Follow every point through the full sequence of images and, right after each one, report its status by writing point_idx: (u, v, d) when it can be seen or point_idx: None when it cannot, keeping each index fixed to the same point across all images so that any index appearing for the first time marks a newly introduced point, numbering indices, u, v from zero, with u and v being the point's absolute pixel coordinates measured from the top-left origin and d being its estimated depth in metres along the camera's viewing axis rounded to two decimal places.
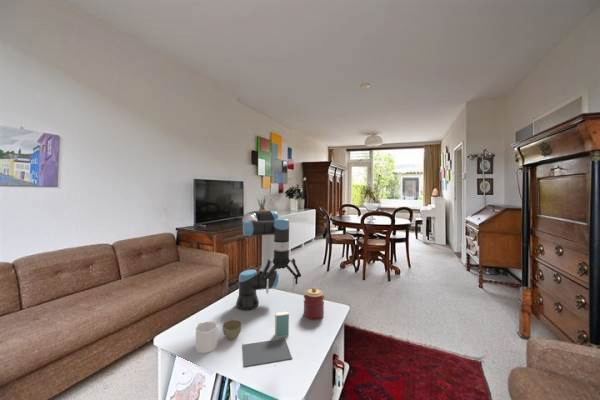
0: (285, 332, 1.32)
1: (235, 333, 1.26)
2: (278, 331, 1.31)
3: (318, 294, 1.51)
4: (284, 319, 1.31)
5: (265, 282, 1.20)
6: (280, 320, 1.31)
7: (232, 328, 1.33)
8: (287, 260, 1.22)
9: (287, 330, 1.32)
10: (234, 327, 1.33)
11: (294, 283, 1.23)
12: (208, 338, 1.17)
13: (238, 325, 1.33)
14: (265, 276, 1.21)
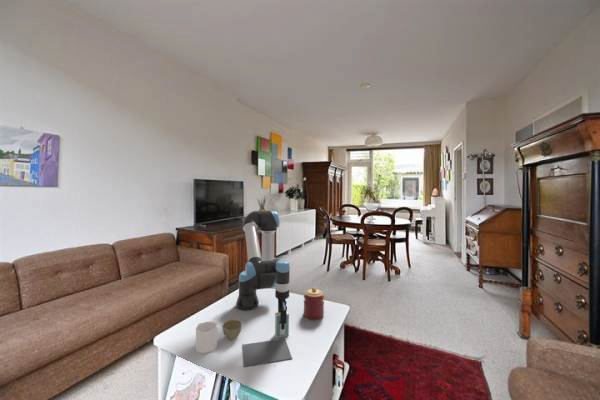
0: (285, 332, 1.32)
1: (235, 333, 1.26)
2: (278, 331, 1.31)
3: (318, 294, 1.51)
4: None
5: None
6: (280, 320, 1.31)
7: (232, 328, 1.33)
8: (281, 302, 1.29)
9: (287, 330, 1.32)
10: (234, 327, 1.33)
11: (280, 326, 1.30)
12: (208, 338, 1.17)
13: (238, 325, 1.33)
14: None
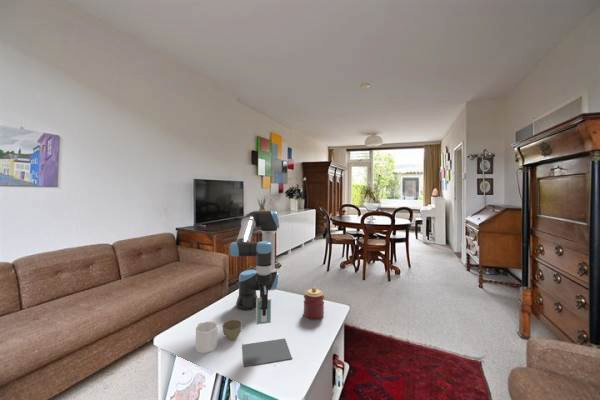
0: (267, 319, 1.22)
1: (235, 333, 1.26)
2: (259, 317, 1.21)
3: (318, 294, 1.51)
4: None
5: None
6: (261, 306, 1.21)
7: (232, 328, 1.33)
8: (262, 286, 1.19)
9: (269, 317, 1.22)
10: (234, 327, 1.33)
11: (261, 313, 1.20)
12: (208, 338, 1.17)
13: (238, 325, 1.33)
14: None
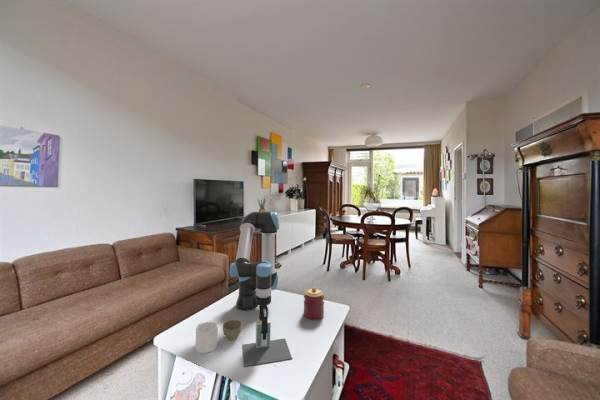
0: None
1: (235, 333, 1.26)
2: (258, 340, 1.21)
3: (318, 294, 1.51)
4: None
5: None
6: (261, 329, 1.21)
7: (232, 328, 1.33)
8: (261, 308, 1.19)
9: (269, 340, 1.22)
10: (234, 327, 1.33)
11: (261, 336, 1.19)
12: (208, 338, 1.17)
13: (238, 325, 1.33)
14: None
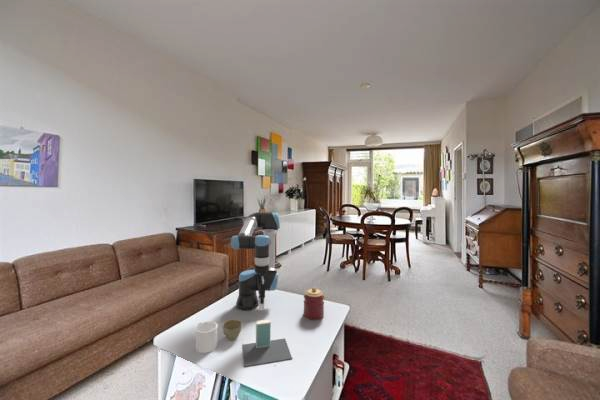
0: (266, 342, 1.22)
1: (235, 333, 1.26)
2: (258, 340, 1.21)
3: (318, 294, 1.51)
4: (265, 328, 1.22)
5: (259, 295, 1.33)
6: (261, 329, 1.21)
7: (232, 328, 1.33)
8: (260, 276, 1.27)
9: (269, 340, 1.22)
10: (234, 327, 1.33)
11: (259, 301, 1.29)
12: (208, 338, 1.17)
13: (238, 325, 1.33)
14: None
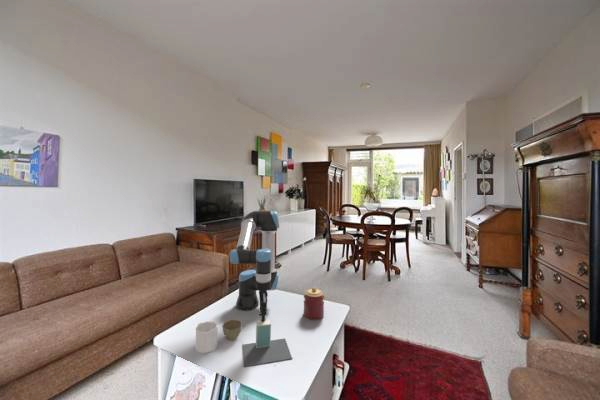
0: (266, 342, 1.22)
1: (235, 333, 1.26)
2: (258, 341, 1.21)
3: (318, 294, 1.51)
4: (266, 329, 1.21)
5: None
6: (261, 330, 1.20)
7: (232, 328, 1.33)
8: (261, 293, 1.20)
9: (269, 340, 1.22)
10: (234, 327, 1.33)
11: (260, 319, 1.23)
12: (208, 338, 1.17)
13: (238, 325, 1.33)
14: None
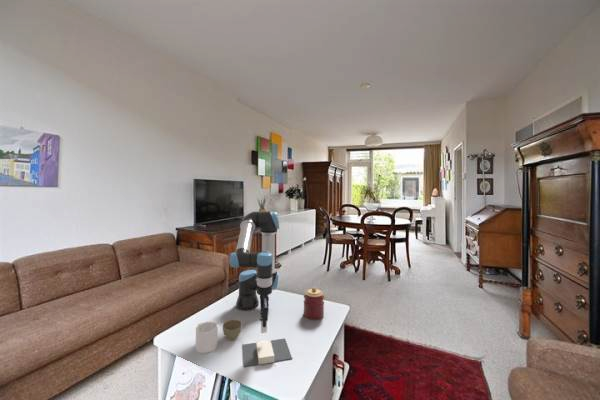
0: None
1: (235, 333, 1.26)
2: None
3: (318, 294, 1.51)
4: None
5: None
6: None
7: (232, 328, 1.33)
8: (262, 298, 1.16)
9: None
10: (234, 327, 1.33)
11: (261, 324, 1.20)
12: (208, 338, 1.17)
13: (238, 325, 1.33)
14: None
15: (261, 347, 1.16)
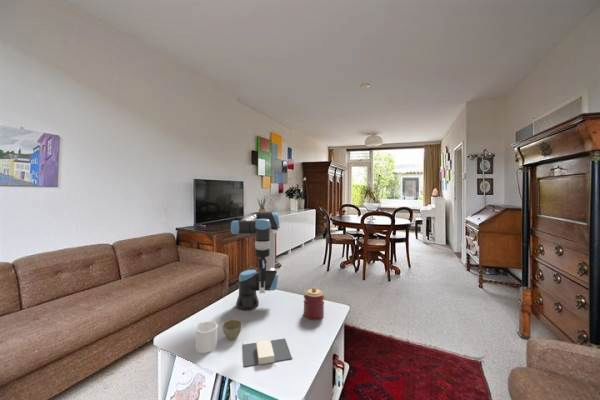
0: None
1: (235, 333, 1.26)
2: None
3: (318, 294, 1.51)
4: None
5: None
6: None
7: (232, 328, 1.33)
8: (260, 260, 1.25)
9: None
10: (234, 327, 1.33)
11: (259, 285, 1.28)
12: (208, 338, 1.17)
13: (238, 325, 1.33)
14: None
15: (261, 347, 1.16)
